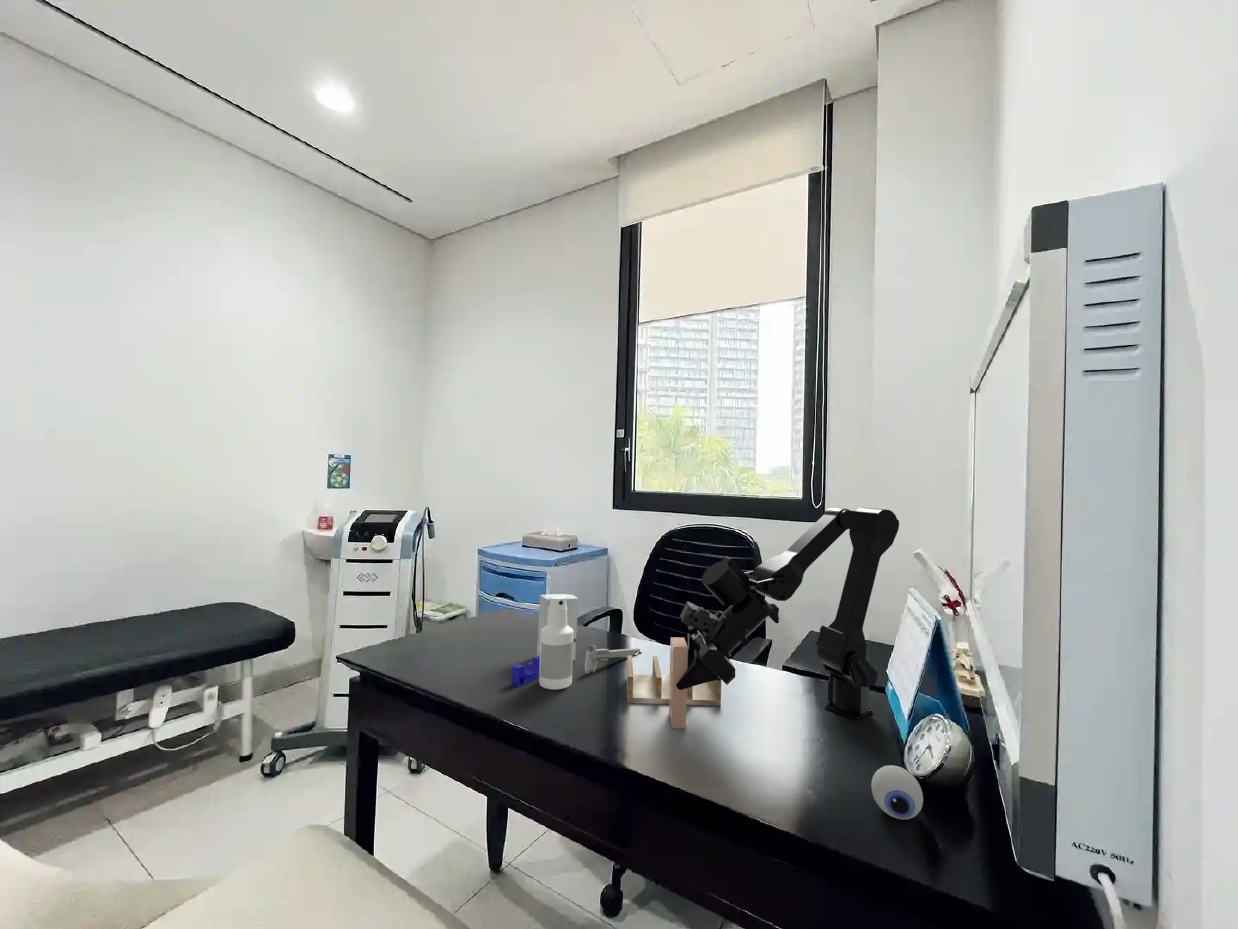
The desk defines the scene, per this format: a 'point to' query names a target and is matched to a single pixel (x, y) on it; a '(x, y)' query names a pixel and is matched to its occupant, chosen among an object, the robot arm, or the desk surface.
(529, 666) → the cable holder
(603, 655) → the caliper
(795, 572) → the robot arm
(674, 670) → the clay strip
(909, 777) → the eyeball
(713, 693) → the rack
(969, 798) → the desk surface
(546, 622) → the skincare box
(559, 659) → the spray bottle
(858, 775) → the desk surface
